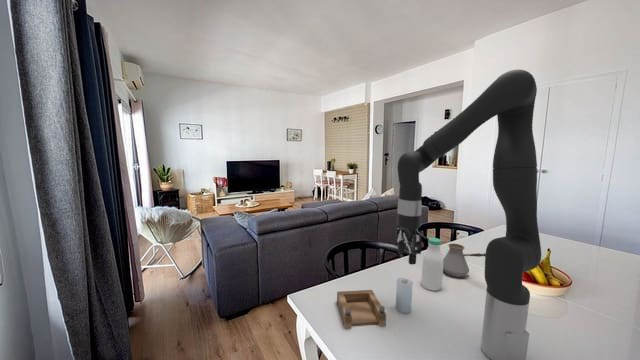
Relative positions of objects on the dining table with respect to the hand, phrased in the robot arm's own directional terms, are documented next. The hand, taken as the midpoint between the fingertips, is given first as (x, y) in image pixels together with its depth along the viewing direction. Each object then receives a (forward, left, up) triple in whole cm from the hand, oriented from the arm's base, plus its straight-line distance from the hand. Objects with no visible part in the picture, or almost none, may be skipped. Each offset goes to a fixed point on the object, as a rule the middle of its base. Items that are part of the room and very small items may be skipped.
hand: (406, 258), depth 88 cm
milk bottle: (+13, -18, -19) cm, 29 cm away
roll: (0, 0, -19) cm, 19 cm away
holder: (-1, +16, -18) cm, 24 cm away
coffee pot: (+18, -36, -19) cm, 44 cm away
